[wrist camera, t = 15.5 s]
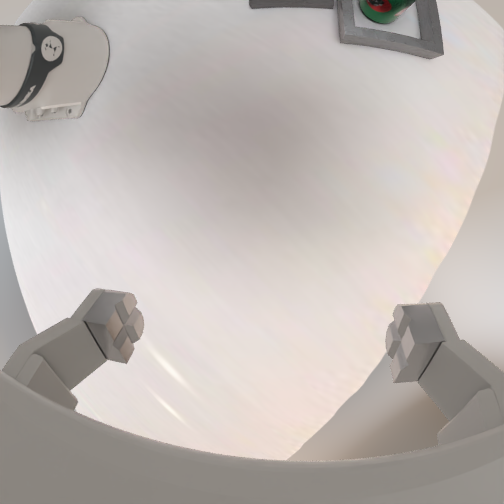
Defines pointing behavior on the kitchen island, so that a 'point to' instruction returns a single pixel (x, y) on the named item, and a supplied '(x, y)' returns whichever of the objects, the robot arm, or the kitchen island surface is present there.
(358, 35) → the square frame with handle
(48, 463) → the robot arm
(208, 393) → the kitchen island surface
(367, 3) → the soda can
